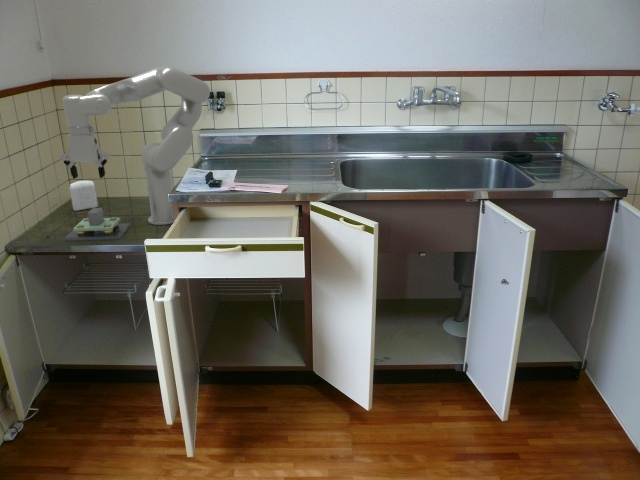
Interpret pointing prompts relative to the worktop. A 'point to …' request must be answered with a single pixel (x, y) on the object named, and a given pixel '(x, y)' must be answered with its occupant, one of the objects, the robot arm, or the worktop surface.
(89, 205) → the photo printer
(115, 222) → the board
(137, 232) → the worktop surface
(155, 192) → the robot arm
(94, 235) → the plate
